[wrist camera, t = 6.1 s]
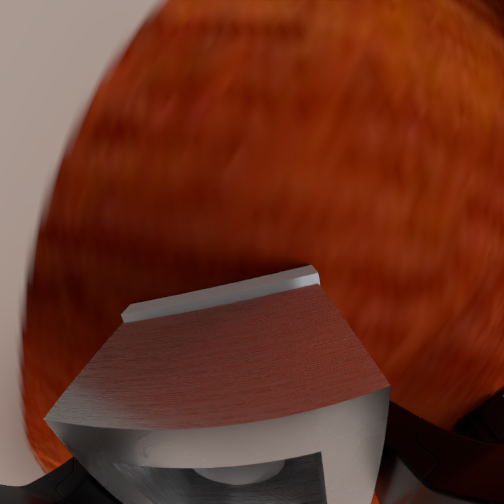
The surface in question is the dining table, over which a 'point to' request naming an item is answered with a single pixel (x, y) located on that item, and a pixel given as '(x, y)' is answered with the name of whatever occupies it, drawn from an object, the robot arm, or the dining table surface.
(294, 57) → the dining table surface
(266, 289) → the shaft base
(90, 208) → the dining table surface
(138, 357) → the collar
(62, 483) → the robot arm
